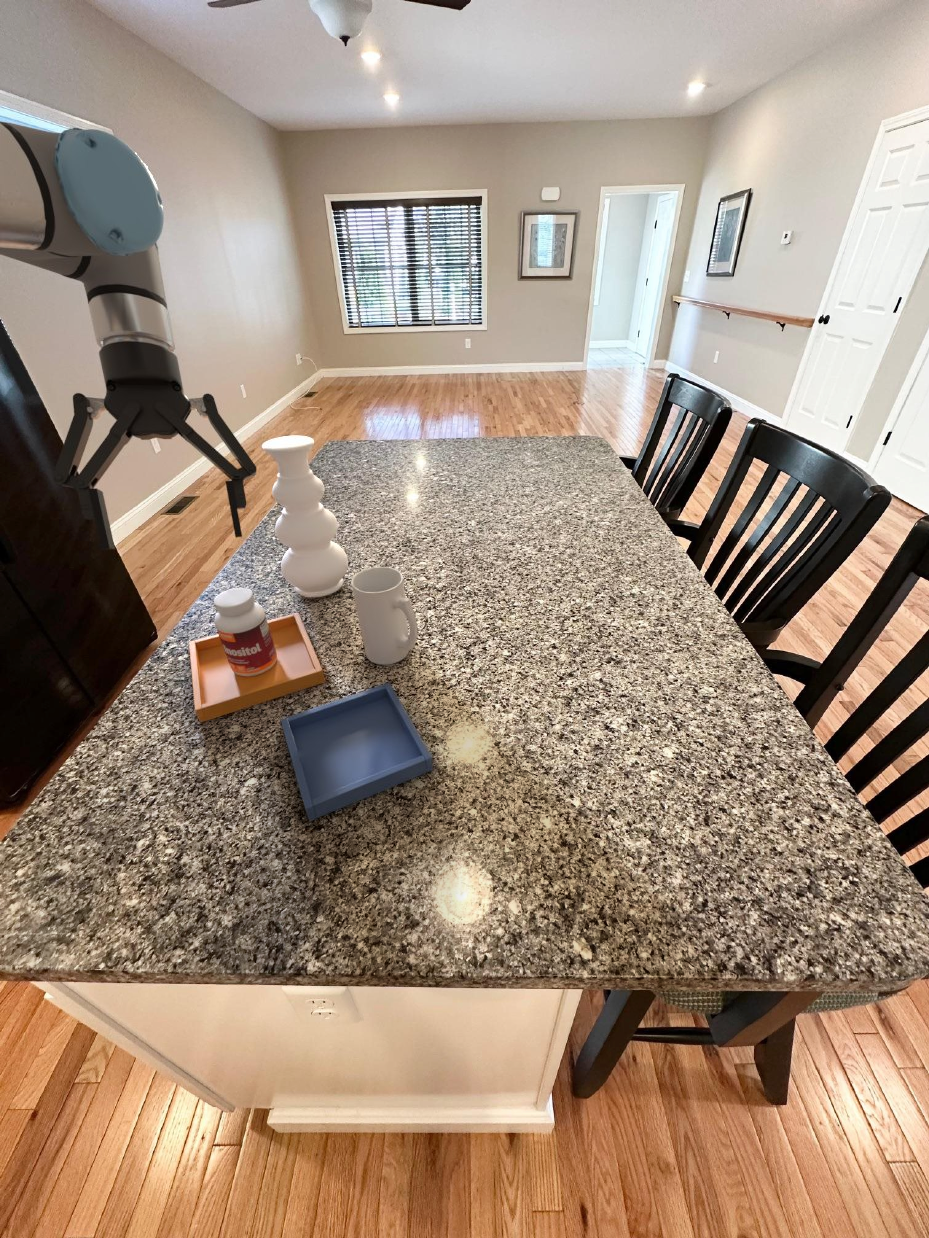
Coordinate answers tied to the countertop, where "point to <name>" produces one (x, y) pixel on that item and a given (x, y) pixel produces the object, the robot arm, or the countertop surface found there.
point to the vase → (305, 521)
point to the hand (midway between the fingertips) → (176, 543)
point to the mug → (384, 614)
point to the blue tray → (353, 749)
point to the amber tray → (232, 692)
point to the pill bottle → (244, 632)
